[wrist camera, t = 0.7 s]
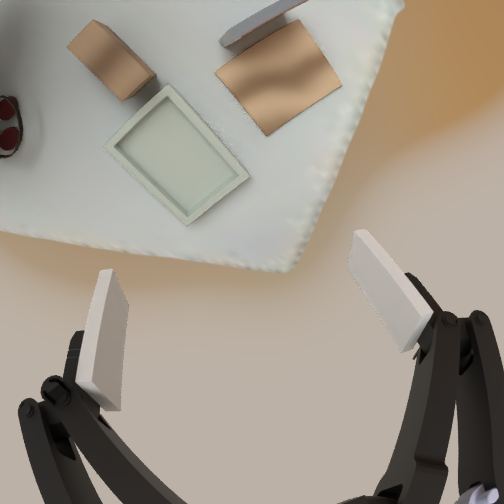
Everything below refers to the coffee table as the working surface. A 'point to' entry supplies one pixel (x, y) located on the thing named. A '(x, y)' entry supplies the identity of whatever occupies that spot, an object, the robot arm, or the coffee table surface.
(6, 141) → the binoculars
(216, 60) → the coffee table surface
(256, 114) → the cork mat
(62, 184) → the coffee table surface
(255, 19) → the grey square tile
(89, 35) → the block
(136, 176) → the tray
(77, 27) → the coffee table surface
